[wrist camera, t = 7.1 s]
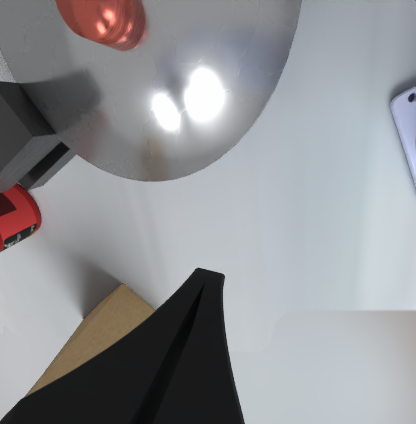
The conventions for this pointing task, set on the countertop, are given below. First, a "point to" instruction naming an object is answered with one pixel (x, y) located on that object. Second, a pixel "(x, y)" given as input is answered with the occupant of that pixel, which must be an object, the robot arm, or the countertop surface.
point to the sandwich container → (98, 332)
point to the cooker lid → (137, 80)
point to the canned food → (17, 216)
